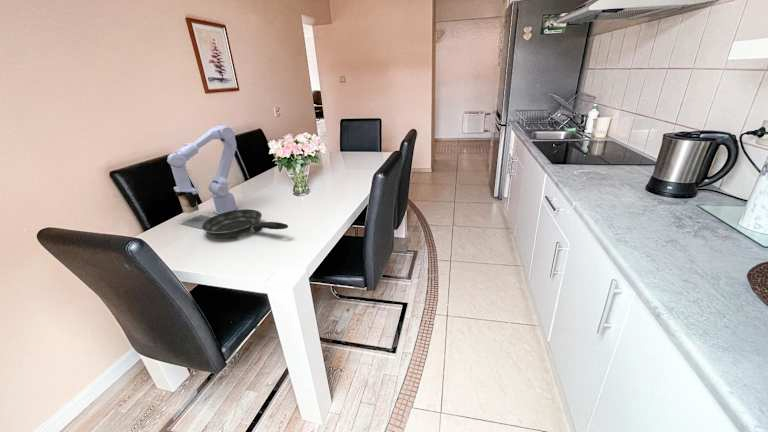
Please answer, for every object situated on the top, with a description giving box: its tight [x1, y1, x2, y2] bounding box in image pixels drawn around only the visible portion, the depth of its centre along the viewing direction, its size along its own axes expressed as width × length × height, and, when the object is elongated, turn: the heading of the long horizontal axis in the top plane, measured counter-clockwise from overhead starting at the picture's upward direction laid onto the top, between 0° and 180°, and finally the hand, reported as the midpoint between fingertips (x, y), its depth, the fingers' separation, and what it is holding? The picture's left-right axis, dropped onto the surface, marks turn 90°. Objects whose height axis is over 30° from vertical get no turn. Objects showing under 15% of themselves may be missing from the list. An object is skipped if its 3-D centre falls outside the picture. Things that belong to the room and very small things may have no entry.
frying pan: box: [201, 208, 289, 239], centre depth 139 cm, size 44×25×7 cm, turn 65°
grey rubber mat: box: [179, 214, 212, 230], centre depth 152 cm, size 11×18×1 cm, turn 64°
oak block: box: [178, 193, 200, 214], centre depth 151 cm, size 5×4×8 cm
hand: (190, 206), depth 151 cm, fingers closed on oak block, 4 cm apart
